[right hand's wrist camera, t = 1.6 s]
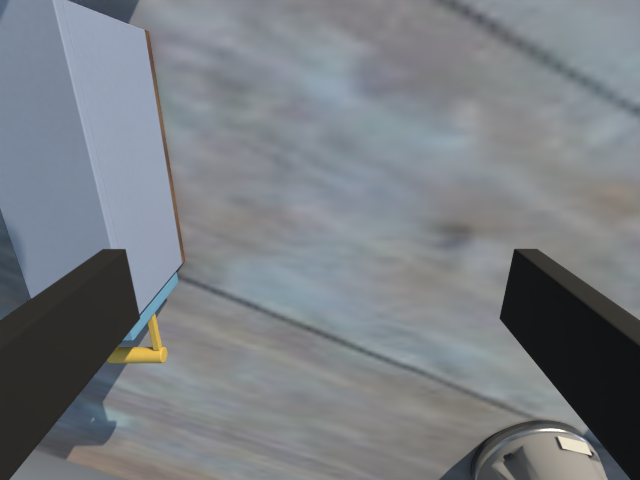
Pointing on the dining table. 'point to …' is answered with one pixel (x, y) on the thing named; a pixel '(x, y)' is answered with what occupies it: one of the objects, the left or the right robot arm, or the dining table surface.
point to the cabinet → (83, 146)
